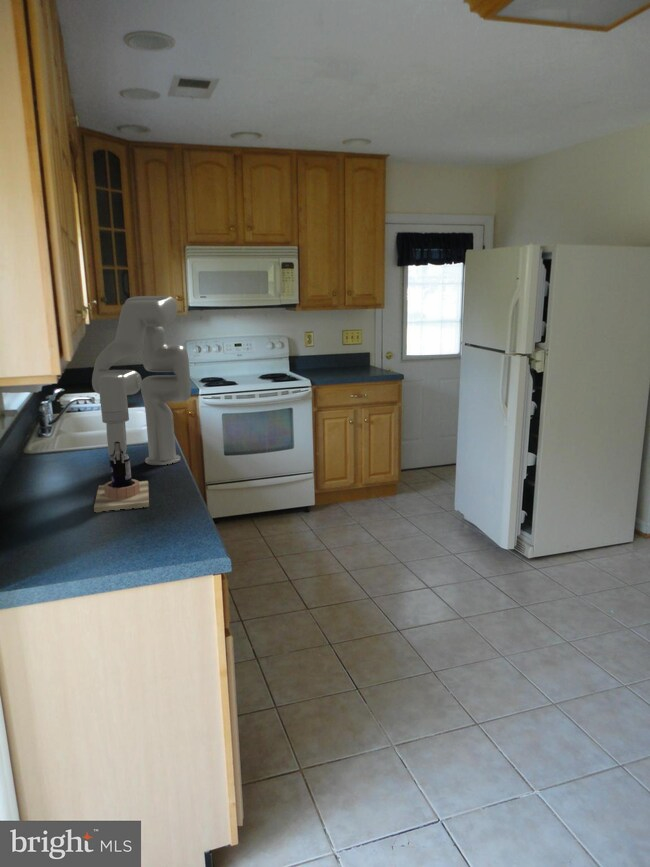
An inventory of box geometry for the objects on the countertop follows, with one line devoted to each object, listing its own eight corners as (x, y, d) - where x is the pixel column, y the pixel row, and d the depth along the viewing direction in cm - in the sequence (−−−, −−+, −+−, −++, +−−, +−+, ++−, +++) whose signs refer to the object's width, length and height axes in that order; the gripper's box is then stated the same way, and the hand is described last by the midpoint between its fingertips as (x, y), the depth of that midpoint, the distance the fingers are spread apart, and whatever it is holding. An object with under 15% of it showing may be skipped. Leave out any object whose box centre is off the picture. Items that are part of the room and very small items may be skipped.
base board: (99, 489, 200) (98, 485, 200) (148, 485, 204) (147, 480, 203) (94, 512, 179) (93, 507, 179) (149, 506, 183) (148, 501, 183)
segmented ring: (106, 490, 195) (105, 480, 194) (139, 486, 197) (139, 477, 196) (104, 500, 185) (103, 490, 184) (139, 496, 188) (138, 486, 187)
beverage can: (125, 489, 195) (122, 451, 193) (136, 492, 192) (132, 454, 189) (109, 493, 191) (105, 455, 188) (120, 497, 187) (116, 458, 185)
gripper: (103, 411, 193) (109, 465, 197) (100, 423, 177) (106, 481, 181) (129, 409, 195) (134, 462, 199) (128, 421, 179) (133, 478, 183)
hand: (121, 471), depth 190 cm, fingers open, 9 cm apart
